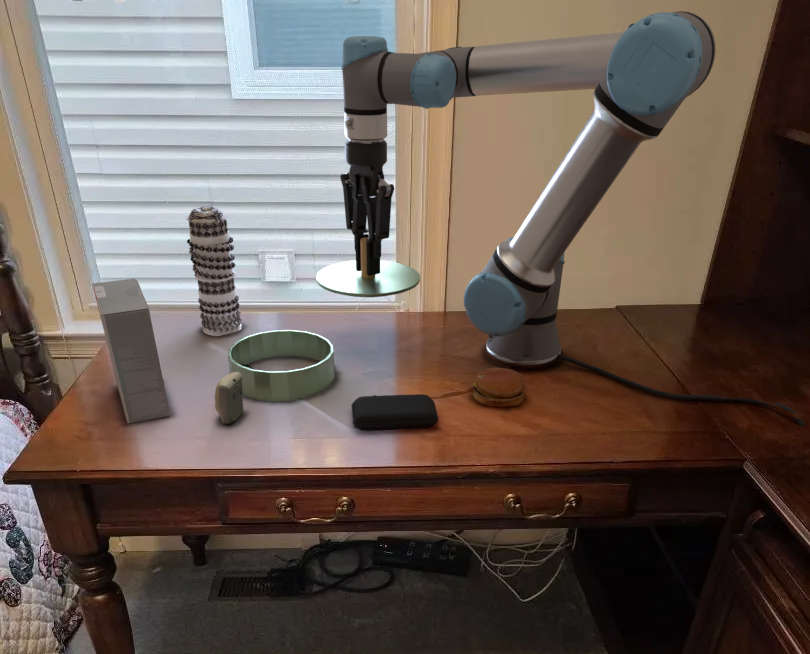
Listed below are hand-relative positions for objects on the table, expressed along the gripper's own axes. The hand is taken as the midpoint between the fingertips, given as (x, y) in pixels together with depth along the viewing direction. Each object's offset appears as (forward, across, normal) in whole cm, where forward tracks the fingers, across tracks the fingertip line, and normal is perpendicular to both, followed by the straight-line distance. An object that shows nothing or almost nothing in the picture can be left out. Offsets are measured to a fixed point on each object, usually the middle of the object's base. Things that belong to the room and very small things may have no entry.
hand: (368, 271), depth 147 cm
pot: (+16, 0, -21) cm, 27 cm away
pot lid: (+1, 0, 0) cm, 1 cm away
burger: (+16, +32, +5) cm, 36 cm away
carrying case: (+16, +26, -15) cm, 34 cm away
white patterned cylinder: (+17, -29, -18) cm, 38 cm away
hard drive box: (+17, -7, -46) cm, 50 cm away
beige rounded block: (+16, +9, -37) cm, 42 cm away
